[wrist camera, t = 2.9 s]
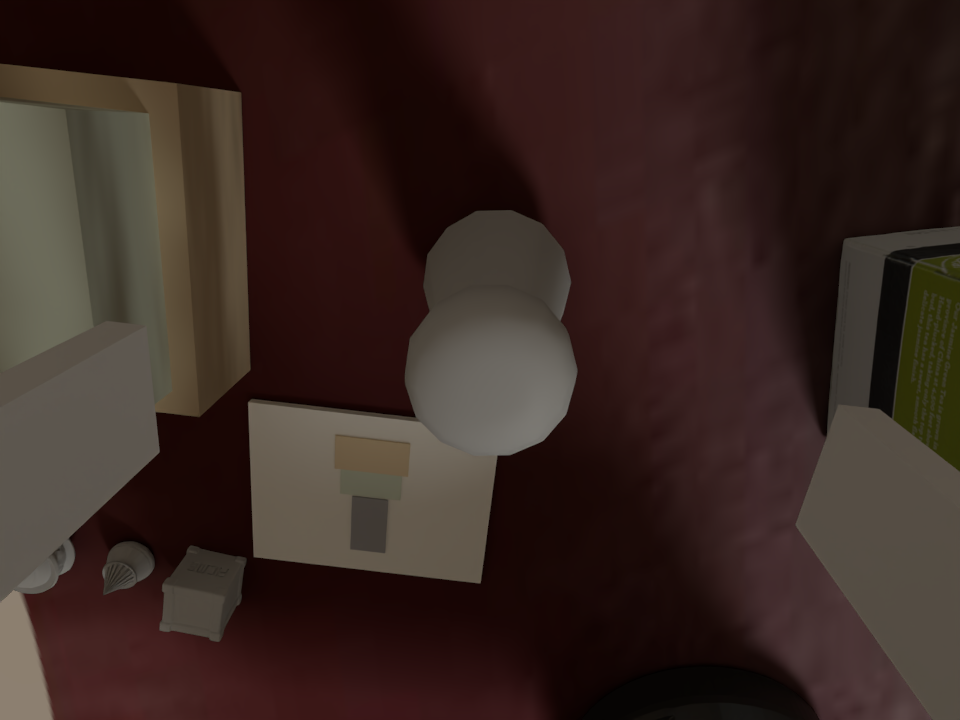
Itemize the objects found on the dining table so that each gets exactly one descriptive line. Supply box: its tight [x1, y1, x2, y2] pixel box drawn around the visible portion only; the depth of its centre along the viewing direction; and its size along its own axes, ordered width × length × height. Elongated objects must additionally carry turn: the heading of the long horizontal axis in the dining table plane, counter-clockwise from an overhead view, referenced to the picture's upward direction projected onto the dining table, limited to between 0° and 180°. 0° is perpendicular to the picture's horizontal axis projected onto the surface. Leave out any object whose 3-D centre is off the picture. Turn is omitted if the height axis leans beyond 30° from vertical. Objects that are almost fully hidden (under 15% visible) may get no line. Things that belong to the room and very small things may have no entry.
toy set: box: [14, 538, 246, 642], centre depth 31 cm, size 12×3×4 cm, turn 76°
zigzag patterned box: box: [0, 64, 250, 417], centre depth 22 cm, size 12×12×9 cm
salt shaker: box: [405, 210, 578, 456], centre depth 20 cm, size 6×6×13 cm
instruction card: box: [248, 399, 497, 583], centre depth 30 cm, size 12×9×1 cm
